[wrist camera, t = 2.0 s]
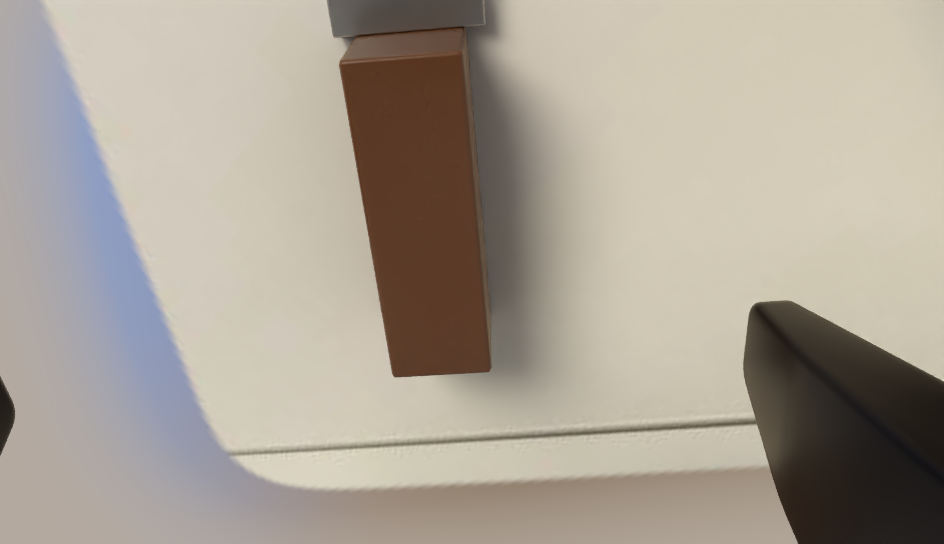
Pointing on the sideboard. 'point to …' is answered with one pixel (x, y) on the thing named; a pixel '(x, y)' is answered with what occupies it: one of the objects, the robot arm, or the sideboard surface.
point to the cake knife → (419, 177)
